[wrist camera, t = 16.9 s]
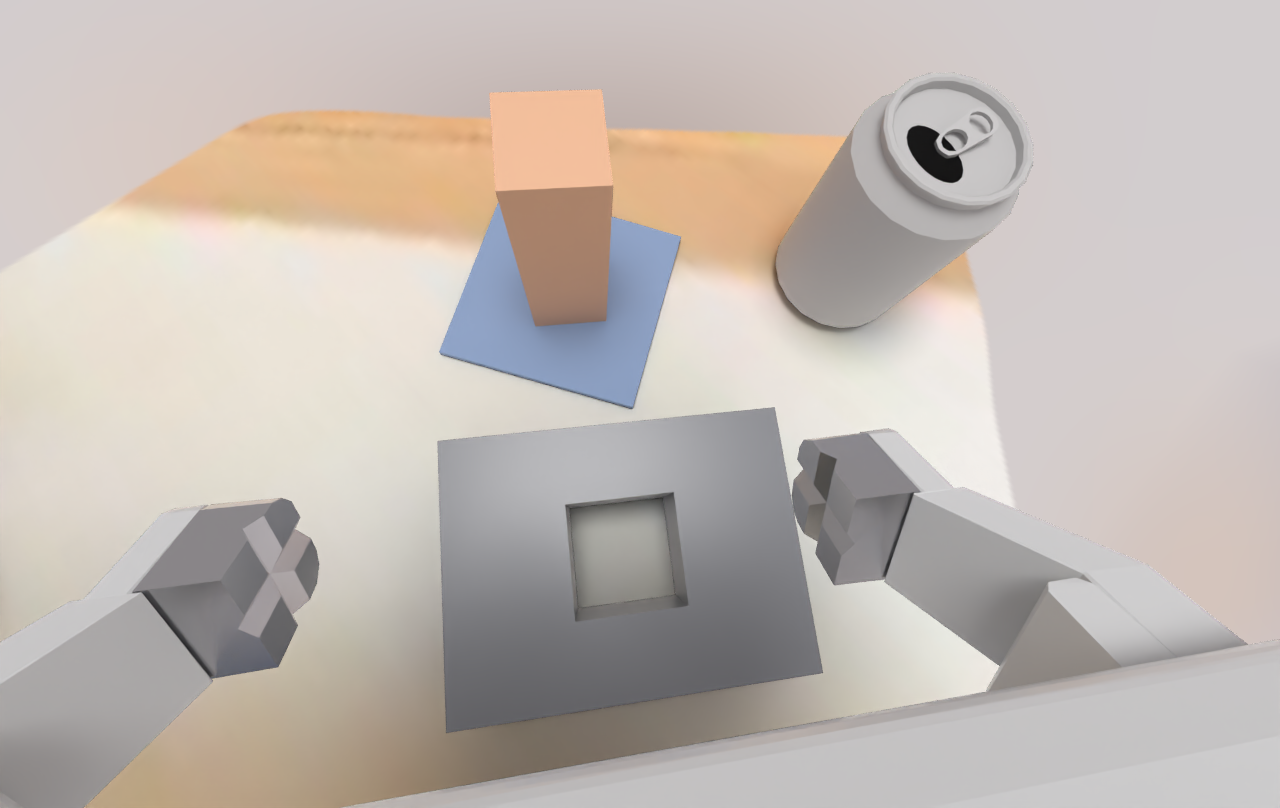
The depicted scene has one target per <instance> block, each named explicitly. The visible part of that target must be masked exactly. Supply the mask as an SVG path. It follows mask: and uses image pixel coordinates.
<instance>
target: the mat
mask: <svg viewBox="0 0 1280 808" xmlns="http://www.w3.org/2000/svg"><path fill="white" fill-rule="evenodd" d="M680 239H681V237H680V236H677V235H673V234H670V233H666V232H663V231H659V230H656V229H653V228H649V227H646V226H642V225H639V224H635V223H632V222H629V221H625V220H622V219H618V218H615V217H612V219H611V238H610V258H609V277H608V297H607V317H606V321H600V322H587V323H574V324H561V325H548V326H535V324H534V320H533V317H532V313H531V310H530V307H529V303H528V300H527V297H526V293H525V290H524V286H523V283H522V280H521V276H520V273H519V269H518V266H517V263H516V259H515V256H514V252H513V249H512V246H511V242H510V239H509V236H508V232H507V229H506V225H505V222H504V219H503V215H502V212H501V208H500V205H499V202H498V204H497V207H496V209H495V212H494V215H493V217H492V220H491V222H490V225H489V227H488V230H487V232H486V235H485V237H484V240H483V242H482V245H481V247H480V250H479V253H478V255H477V258H476V260H475V263H474V265H473V268H472V270H471V273H470V275H469V278H468V280H467V283H466V285H465V288H464V291H463V293H462V296H461V298H460V301H459V303H458V306H457V308H456V311H455V313H454V316H453V318H452V321H451V323H450V326H449V328H448V331H447V334H446V336H445V339H444V341H443V344H442V346H441V349H440V351H439V352H440V354H441V355H445V356H448V357H452V358H455V359H459V360H462V361H466V362H469V363H473V364H476V365H480V366H484V367H487V368H491V369H494V370H498V371H501V372H505V373H508V374H512V375H515V376H519V377H522V378H526V379H529V380H533V381H536V382H540V383H543V384H547V385H550V386H554V387H557V388H561V389H564V390H568V391H571V392H575V393H578V394H582V395H585V396H589V397H592V398H596V399H599V400H603V401H606V402H610V403H613V404H617V405H621V406H624V407H628V408H631V409H632V408H633V405H634V401H635V398H636V394H637V391H638V387H639V384H640V380H641V376H642V373H643V369H644V366H645V362H646V359H647V355H648V352H649V348H650V345H651V341H652V338H653V334H654V331H655V327H656V324H657V320H658V317H659V313H660V310H661V306H662V303H663V299H664V295H665V292H666V288H667V285H668V281H669V278H670V274H671V271H672V267H673V264H674V260H675V257H676V253H677V250H678V246H679V243H680Z"/></svg>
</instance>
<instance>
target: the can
mask: <svg viewBox="0 0 1280 808" xmlns="http://www.w3.org/2000/svg"><path fill="white" fill-rule="evenodd" d="M1032 166H1033V142H1032V139H1031V136H1030V133H1029V129H1028V126H1027V123H1026V122H1025V120H1024V119H1023V117H1022V116H1021V114H1020V113H1019V111H1018V110H1017V108H1016V107H1015V105H1014V104H1013V103H1012V102H1010V101H1009V100H1008V99H1007V98H1006V97H1005V96H1004V95H1002V94H1001V93H1000V92H999V91H998V90H997V89H995V88H993V87H991V86H989V85H988V84H986V83H984V82H982V81H980V80H978V79H976V78H973V77H969V76H965V75H961V74H957V73H928V74H925V75H922V76H919V77H916V78H913V79H910V80H909V81H907V82H906V83H905V84H904V85H903V86H901V87H900V88H899V89H898V90H896V91H895V92H894V93H892V94H889V95H885V96H882V97H881V98H880V99H878V100H877V101H876V102H875V103H873V104H872V105H871V106H869V107H868V108H867V109H866V110H864V112H863V114H862V115H861V117H860V118H859V120H858V121H857V123H856V125H855V126H854V128H853V129H852V131H851V133H850V134H849V135H848V137H847V139H846V140H845V142H844V143H843V145H842V146H841V148H840V150H839V151H838V153H837V154H836V156H835V157H834V159H833V161H832V162H831V164H830V165H829V167H828V168H827V170H826V171H825V173H824V175H823V176H822V178H821V179H820V181H819V182H818V184H817V186H816V187H815V189H814V190H813V192H812V193H811V195H810V197H809V198H808V200H807V201H806V203H805V204H804V206H803V207H802V209H801V211H800V212H799V214H798V215H797V217H796V218H795V220H794V222H793V223H792V225H791V226H790V228H789V229H788V231H787V233H786V234H785V236H784V238H783V240H782V241H781V243H780V245H779V246H778V252H777V258H776V270H777V275H778V281H779V284H780V285H781V287H782V289H783V291H784V293H785V295H786V297H787V299H788V300H789V301H790V302H791V303H792V304H793V305H794V306H795V307H796V308H797V309H798V310H799V311H800V312H801V313H802V314H804V315H806V316H807V317H809V318H811V319H813V320H814V321H816V322H818V323H820V324H824V325H828V326H833V327H837V328H846V327H859V326H861V325H863V324H866V323H868V322H871V321H873V320H875V319H876V318H878V317H879V316H880V315H882V314H883V313H884V312H886V311H887V310H888V309H890V308H891V307H892V306H894V305H895V304H896V303H898V302H899V301H900V300H902V299H903V298H904V297H905V296H907V295H908V294H909V293H911V292H912V291H913V290H915V289H916V288H917V287H919V286H920V285H921V284H923V283H924V282H925V281H927V280H928V279H929V278H931V277H932V276H933V275H935V274H936V273H937V272H938V271H940V270H941V269H942V268H944V267H945V266H946V265H948V264H949V263H950V262H952V261H953V260H954V259H956V258H957V257H958V256H960V255H961V254H962V253H964V252H965V251H966V250H968V249H969V248H970V247H971V246H973V245H974V244H975V243H977V242H978V241H979V240H981V239H982V238H983V237H985V236H986V235H987V234H989V233H990V232H991V231H993V230H994V229H995V228H996V227H997V226H998V225H999V224H1000V223H1001V222H1002V221H1003V220H1004V219H1005V218H1007V217H1008V216H1009V215H1010V213H1011V211H1012V208H1013V206H1014V204H1015V202H1016V200H1017V197H1018V195H1019V188H1020V187H1021V186H1022V185H1023V184H1025V182H1026V180H1027V177H1028V175H1029V173H1030V170H1031V168H1032Z"/></svg>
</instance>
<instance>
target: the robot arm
mask: <svg viewBox="0 0 1280 808" xmlns="http://www.w3.org/2000/svg"><path fill="white" fill-rule="evenodd" d="M797 460H798V461H799V463H800V464H801V466H802V467H803V470H802V472H801V473H800V474H799V475H798V476H797V477H796V478H795V479H794V483H793V490H792V500H793V508H794V513H795V516H796V518H797V521H798V523H799V525H800V527H801V529H802V531H803V532H804V534H806V535H808V536H809V537H811V538H813V539H814V540H816V541H818V544H817V548H816V555H817V557H818V559H819V560H820V562H821V564H822V565H823V567H824V569H825V571H826V572H827V574H828V576H829V577H830V579H831V581H832V583H833V584H834V585H841V584H849V583H858V582H866V581H875V580H883V579H885V581H884V582H885V583H886V584H888V585H889V586H891V587H892V588H893V589H895V590H896V591H897V592H899V593H900V594H902V595H903V596H904V597H906V598H907V599H908V600H910V601H911V602H912V603H914V604H915V605H917V606H918V607H919V608H921V609H922V610H923V611H925V612H926V613H928V614H929V615H930V616H932V617H933V618H934V619H936V620H937V621H938V622H940V623H941V624H943V625H944V626H945V627H947V628H948V629H949V630H951V631H952V632H954V633H955V634H956V635H958V636H959V637H960V638H962V639H963V640H964V641H966V642H967V643H969V644H970V645H971V646H973V647H974V648H975V649H977V650H978V651H980V652H981V653H982V654H984V655H985V656H986V657H988V658H989V659H990V660H992V661H993V662H995V663H996V664H997V665H999V666H1000V667H999V669H998V670H997V672H996V674H995V675H994V677H993V679H992V681H991V682H990V684H989V686H988V688H987V690H986V692H982V693H976V694H971V695H965V696H960V697H954V698H948V699H943V700H937V701H932V702H926V703H921V704H915V705H909V706H904V707H898V708H893V709H887V710H882V711H876V712H870V713H865V714H859V715H854V716H848V717H842V718H837V719H831V720H826V721H820V722H814V723H809V724H803V725H798V726H792V727H786V728H781V729H775V730H770V731H764V732H758V733H753V734H747V735H742V736H736V737H730V738H725V739H719V740H714V741H708V742H702V743H697V744H691V745H686V746H680V747H674V748H669V749H663V750H658V751H652V752H646V753H641V754H635V755H630V756H624V757H618V758H613V759H607V760H602V761H596V762H591V763H585V764H580V765H574V766H568V767H563V768H557V769H552V770H546V771H541V772H535V773H530V774H524V775H518V776H513V777H507V778H502V779H496V780H491V781H485V782H480V783H474V784H468V785H463V786H457V787H452V788H446V789H441V790H435V791H430V792H424V793H419V794H413V795H407V796H402V797H396V798H391V799H385V800H380V801H374V802H368V803H363V804H357V805H352V806H346V807H340V808H1280V639H1278V640H1272V641H1267V642H1261V643H1255V644H1250V645H1248V644H1247V643H1245V642H1244V641H1243V640H1242V639H1240V638H1239V637H1238V636H1237V635H1235V634H1234V633H1233V632H1232V631H1230V630H1229V629H1228V628H1227V627H1225V626H1224V625H1223V624H1222V623H1220V622H1219V621H1218V620H1217V619H1215V618H1214V617H1213V616H1212V615H1210V614H1209V613H1208V612H1207V611H1205V610H1204V609H1203V608H1202V607H1200V606H1199V605H1198V604H1197V603H1195V602H1194V601H1193V600H1192V599H1190V598H1189V597H1188V596H1187V595H1185V594H1184V593H1183V592H1182V591H1180V590H1179V589H1178V588H1177V587H1175V586H1174V585H1173V584H1172V583H1170V582H1169V581H1168V580H1167V579H1165V578H1164V577H1163V576H1162V575H1160V574H1159V573H1158V572H1156V571H1155V570H1154V569H1153V568H1151V567H1150V566H1149V565H1147V564H1145V563H1143V562H1140V561H1138V560H1136V559H1133V558H1131V557H1129V556H1126V555H1124V554H1121V553H1119V552H1117V551H1114V550H1112V549H1110V548H1107V547H1105V546H1102V545H1100V544H1097V543H1095V542H1093V541H1090V540H1088V539H1086V538H1083V537H1081V536H1079V535H1076V534H1074V533H1071V532H1069V531H1067V530H1064V529H1062V528H1060V527H1057V526H1055V525H1052V524H1050V523H1048V522H1045V521H1043V520H1040V519H1038V518H1036V517H1033V516H1031V515H1029V514H1026V513H1024V512H1022V511H1019V510H1017V509H1014V508H1012V507H1010V506H1007V505H1005V504H1003V503H1000V502H998V501H995V500H993V499H991V498H988V497H986V496H984V495H981V494H979V493H976V492H974V491H972V490H969V489H967V488H965V487H961V488H954V487H953V486H952V485H951V484H950V483H949V482H948V481H947V480H946V479H945V478H944V477H943V476H942V475H941V474H940V473H939V472H938V471H936V470H935V469H934V468H933V467H932V466H931V465H930V464H929V463H928V462H927V461H926V460H925V459H924V458H923V457H922V456H921V455H920V454H919V453H918V452H917V451H916V450H915V449H914V448H913V447H912V446H911V445H910V444H909V443H908V442H907V441H906V440H905V439H904V438H903V437H902V436H901V435H900V434H899V433H898V432H896V431H894V430H891V429H889V428H888V429H881V430H873V431H866V432H860V433H859V434H850V435H841V436H833V437H824V438H816V439H807V440H803V442H802V444H801V446H800V448H799V453H798V459H797ZM299 519H300V516H299V514H298V512H297V510H296V509H295V507H294V505H293V503H292V502H291V501H289V500H286V499H283V498H276V499H265V500H254V501H243V502H232V503H221V504H211V505H203V506H193V507H183V508H175V509H172V510H170V511H167V512H165V513H162V514H161V515H160V516H159V517H158V518H157V519H156V520H155V522H154V523H153V524H152V525H151V526H150V527H149V528H148V529H147V530H146V531H145V533H144V534H143V535H142V536H141V537H140V538H139V539H138V540H137V541H136V542H135V543H134V545H133V546H132V547H131V548H130V549H129V550H128V551H127V552H126V553H125V554H124V555H123V557H122V558H121V559H120V560H119V561H118V562H117V563H116V564H115V565H114V566H113V567H112V569H111V570H110V571H109V572H108V573H107V574H106V575H105V576H104V577H103V578H102V579H101V581H100V582H99V583H98V584H97V585H96V586H95V587H94V588H93V589H92V590H91V592H90V593H89V594H88V595H87V596H86V597H85V598H84V599H83V600H78V601H70V602H68V603H66V604H65V605H63V606H61V607H59V608H58V609H56V610H54V611H53V612H51V613H49V614H47V615H46V616H44V617H42V618H41V619H39V620H37V621H36V622H34V623H32V624H30V625H29V626H27V627H25V628H24V629H22V630H20V631H18V632H17V633H15V634H13V635H12V636H10V637H8V638H7V639H5V640H3V641H1V642H0V808H84V807H85V806H86V805H87V804H88V803H89V802H90V801H91V800H92V799H93V798H94V797H95V796H96V795H97V794H98V793H99V792H100V791H101V790H102V789H103V788H104V787H105V786H106V785H108V784H109V783H110V782H111V781H112V780H113V779H114V778H115V777H116V776H117V775H118V774H119V773H120V772H121V771H122V770H123V769H124V768H125V767H126V766H127V765H128V764H129V763H130V762H131V761H132V760H133V759H134V758H135V757H136V756H137V755H138V754H139V753H140V752H141V751H142V750H143V749H144V748H145V747H146V746H147V745H149V744H150V743H151V742H152V741H153V740H154V739H155V738H156V737H157V736H158V735H159V734H160V733H161V732H162V731H163V730H164V729H165V728H166V727H167V726H168V725H169V724H170V723H171V722H172V721H173V720H174V719H175V718H176V717H177V716H178V715H179V714H180V713H181V712H182V711H183V710H184V709H185V708H186V707H187V706H189V705H190V704H191V703H192V702H193V701H194V700H195V699H196V698H197V697H198V696H199V695H200V694H201V693H202V692H203V691H204V690H205V689H206V688H207V687H208V686H209V685H210V684H211V683H212V682H213V680H212V679H213V678H218V677H224V676H230V675H236V674H241V673H247V672H253V671H259V670H264V669H270V668H276V667H278V666H279V664H280V662H281V660H282V658H283V656H284V654H285V652H286V649H287V647H288V645H289V643H290V641H291V639H292V637H293V635H294V632H295V630H296V628H297V626H298V625H297V622H296V620H295V618H294V616H293V613H294V612H296V611H297V610H298V609H299V608H300V607H302V606H303V605H304V604H305V603H306V602H307V601H309V600H310V598H311V596H312V593H313V591H314V589H315V586H316V584H317V578H318V570H319V561H318V556H317V550H316V548H315V546H314V544H313V542H312V540H311V538H309V537H308V536H306V535H304V534H302V533H301V532H299V531H297V530H296V529H295V528H296V526H297V524H298V521H299Z"/></svg>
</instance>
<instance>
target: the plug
mask: <svg viewBox="0 0 1280 808" xmlns="http://www.w3.org/2000/svg"><path fill="white" fill-rule="evenodd" d="M489 95H490V109H491V127H492V144H493V160H494V176H495V192H496V195H497V198H498V202H499V205H500V208H501V212H502V215H503V219H504V222H505V225H506V229H507V232H508V236H509V239H510V242H511V246H512V249H513V252H514V256H515V259H516V263H517V266H518V269H519V273H520V276H521V280H522V283H523V286H524V290H525V293H526V297H527V300H528V303H529V307H530V310H531V313H532V317H533V320H534V324H535V326H548V325H561V324H574V323H587V322H600V321H606V317H607V297H608V277H609V258H610V238H611V219H612V199H613V180H612V171H611V163H610V155H609V146H608V138H607V130H606V123H605V113H604V105H603V96H602V90H569V91H534V92H503V93H502V92H499V93H489Z"/></svg>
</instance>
